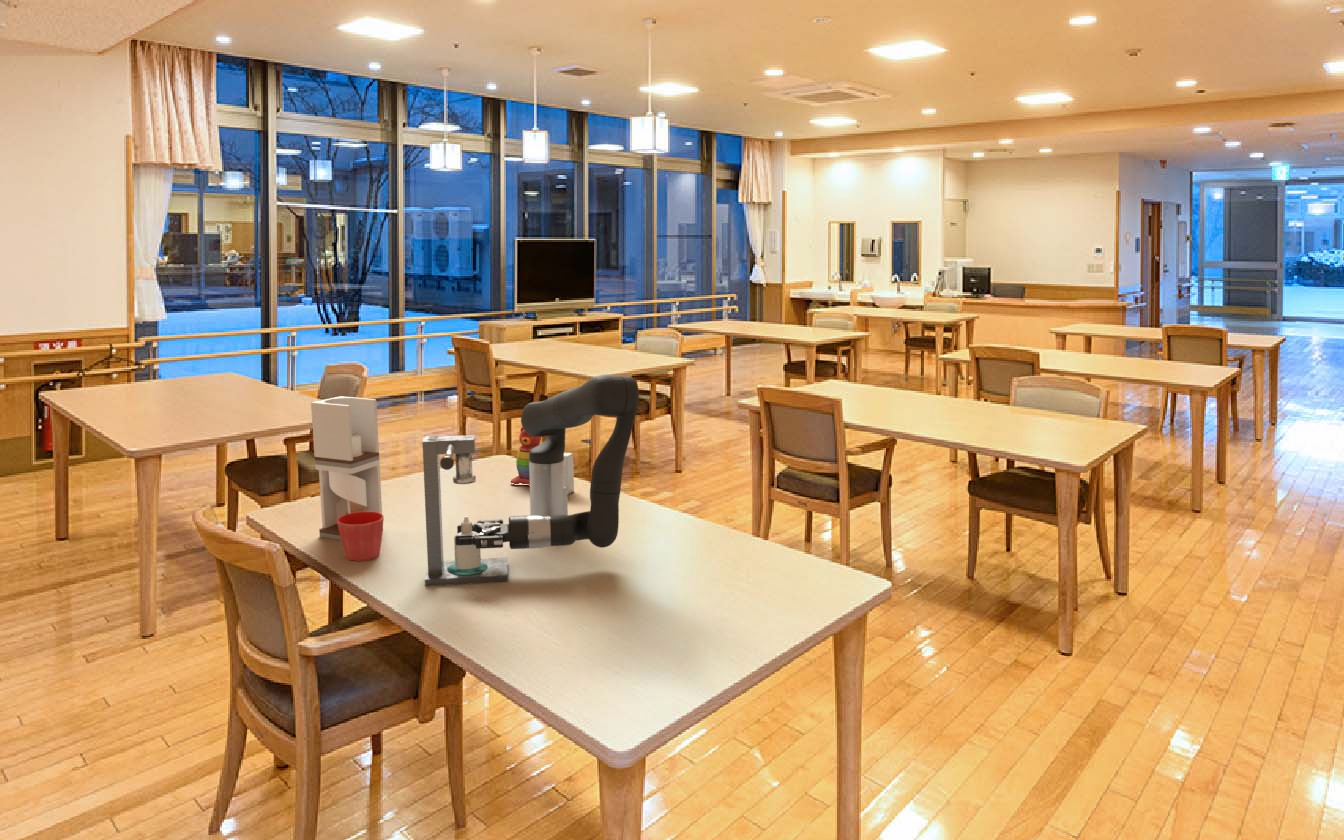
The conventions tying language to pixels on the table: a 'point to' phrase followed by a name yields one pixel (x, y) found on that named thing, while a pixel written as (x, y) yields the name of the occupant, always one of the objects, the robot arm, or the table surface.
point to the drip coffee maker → (346, 458)
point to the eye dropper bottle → (466, 549)
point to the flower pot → (361, 534)
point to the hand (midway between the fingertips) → (456, 535)
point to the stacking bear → (524, 457)
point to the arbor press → (437, 567)
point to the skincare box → (568, 472)
